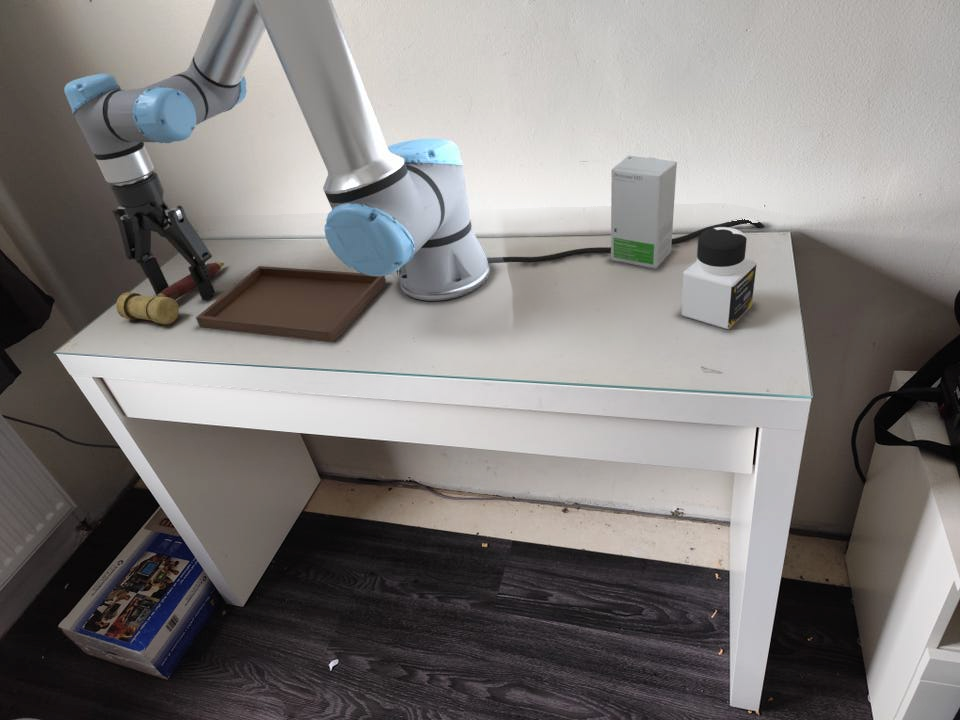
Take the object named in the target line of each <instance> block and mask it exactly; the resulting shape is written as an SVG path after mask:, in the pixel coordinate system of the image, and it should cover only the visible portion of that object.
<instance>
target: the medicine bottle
mask: <svg viewBox="0 0 960 720" xmlns="http://www.w3.org/2000/svg"><path fill="white" fill-rule="evenodd" d="M747 240H748V238H747V236H746V235H745V233H743V231H741V230H740V229H737V228H734V227H729V228H728V227H717V228H712V229H708V230H706V231H704V232H703V233H702V234H701V235H700V236H698V237H697V248H696V251H697V252H696V261H695V262H693V264H692V265H690V266H689V267H688V268H687V269H686V270H685V271H683V273H682V292H681V293H682V296H681V316H682V317H685V318H688V319H692V320H695V321H698V322H702V323H705V324H709V325H712V326H715V327H718V328H721V329H725V330H729V329H731V328H732V327H733V326H734V325H735V324H736V323H737V321H738V320H739V319H740V318H741V317H743V315H745V313H746V312H747V311H748V310H749V309H750V308H752V305H753V299H754V289H755V280H756V273H757V272H756V271H757V262H756V261H754V260H750V259H746V252H747V251H746V250H747V242H748V241H747Z"/></svg>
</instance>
